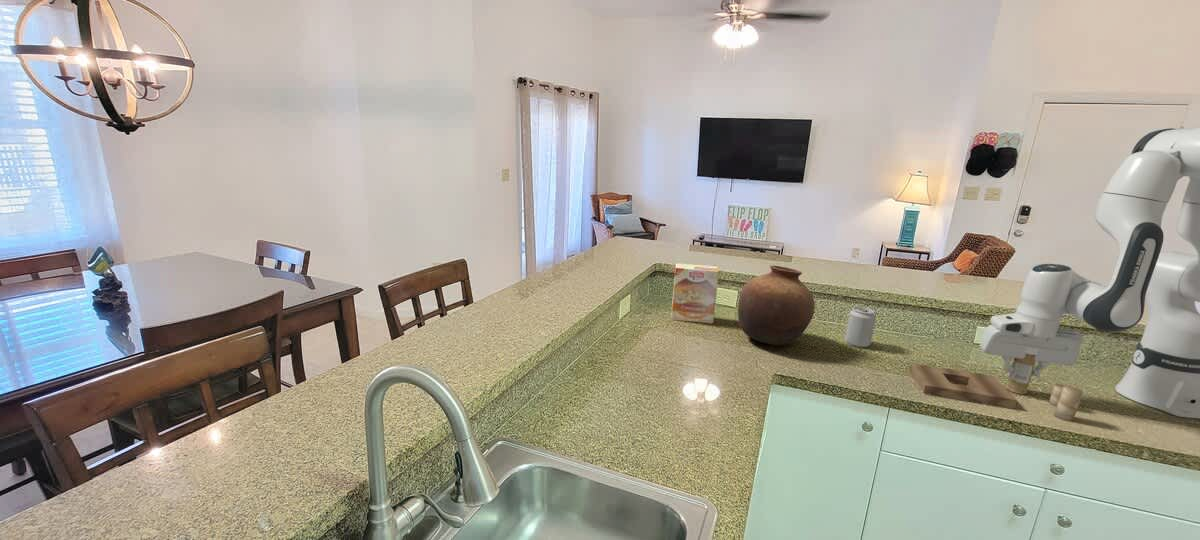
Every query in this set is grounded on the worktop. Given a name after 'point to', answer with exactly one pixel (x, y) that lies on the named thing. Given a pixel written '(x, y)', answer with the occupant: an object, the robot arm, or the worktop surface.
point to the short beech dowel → (1056, 394)
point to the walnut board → (976, 390)
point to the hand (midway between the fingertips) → (1020, 373)
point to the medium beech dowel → (1068, 403)
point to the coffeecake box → (694, 293)
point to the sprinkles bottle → (1022, 372)
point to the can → (860, 327)
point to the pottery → (775, 307)
